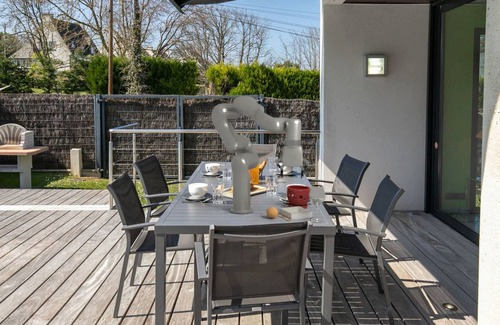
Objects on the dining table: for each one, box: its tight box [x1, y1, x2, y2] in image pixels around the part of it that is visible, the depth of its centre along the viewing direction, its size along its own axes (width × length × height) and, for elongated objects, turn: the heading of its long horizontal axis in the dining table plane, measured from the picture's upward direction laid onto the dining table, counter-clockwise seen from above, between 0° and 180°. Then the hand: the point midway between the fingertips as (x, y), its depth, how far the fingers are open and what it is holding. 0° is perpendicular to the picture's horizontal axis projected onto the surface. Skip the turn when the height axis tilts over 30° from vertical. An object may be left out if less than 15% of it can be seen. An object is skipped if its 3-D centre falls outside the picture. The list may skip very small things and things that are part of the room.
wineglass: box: [309, 184, 326, 223], centre depth 245 cm, size 8×8×18 cm
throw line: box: [277, 213, 294, 223], centre depth 253 cm, size 20×2×1 cm, turn 22°
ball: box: [265, 206, 279, 220], centre depth 250 cm, size 6×6×6 cm
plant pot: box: [286, 184, 311, 209], centre depth 275 cm, size 13×13×12 cm
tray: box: [278, 206, 313, 221], centre depth 257 cm, size 14×12×3 cm
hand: (291, 177), depth 246 cm, fingers open, 9 cm apart
